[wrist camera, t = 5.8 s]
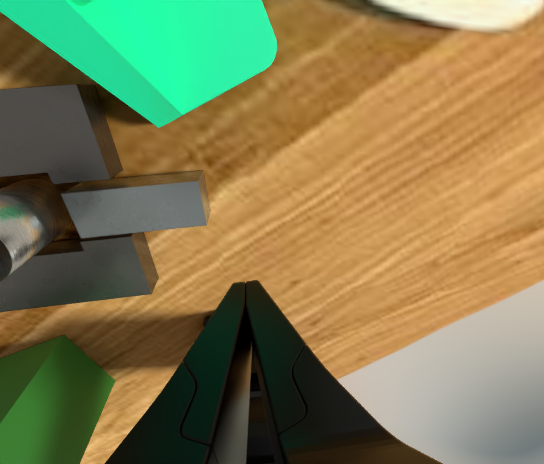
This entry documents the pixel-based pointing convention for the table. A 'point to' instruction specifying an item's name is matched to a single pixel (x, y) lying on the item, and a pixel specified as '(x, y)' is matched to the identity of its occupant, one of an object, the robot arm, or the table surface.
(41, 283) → the socket block
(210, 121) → the table surface
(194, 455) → the robot arm
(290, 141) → the table surface
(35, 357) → the hardback book
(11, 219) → the chrome metal cylinder
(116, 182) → the grey rectangular block
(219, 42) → the camera mount
